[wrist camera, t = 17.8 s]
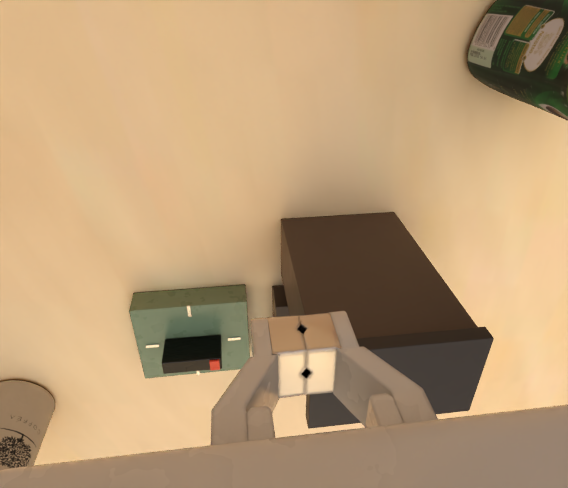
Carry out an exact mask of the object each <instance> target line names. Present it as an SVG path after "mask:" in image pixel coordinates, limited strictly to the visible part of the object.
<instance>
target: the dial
mask: <svg viewBox="0 0 568 488" xmlns="http://www.w3.org/2000/svg"><path fill="white" fill-rule="evenodd" d="M162 368H163V373H164V374H168V373H179V372H190V371H201V370H210V371H213V370H220V369H222V341H221V335H211V336H199V337H186V338H174V339H165V342H164V349H163V356H162Z"/></svg>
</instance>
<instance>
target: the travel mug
mask: <svg viewBox="0 0 568 488" xmlns="http://www.w3.org/2000/svg"><path fill="white" fill-rule="evenodd" d="M54 409H55V402H54V399H53V397H52V396H51V394H50V393H49V392H48V391H46V390H45V389H44V388H42V387H40V386H38V385H36V384H33V383H30V382H25V381H18V380H10V381H3V382H0V469H9V468H18V467H27V466H33V465H34V462H35V460H36V457H37V454H38V452H39V449H40V446H41V444H42V441H43V438H44V436H45V433H46V430H47V428H48V425H49V422H50V420H51V417H52V414H53V412H54Z"/></svg>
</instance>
